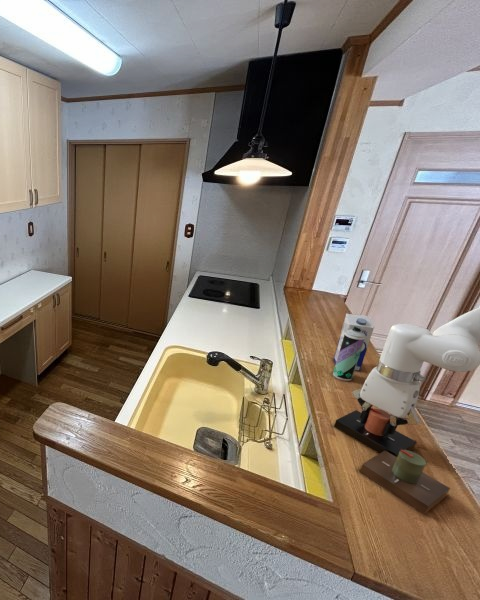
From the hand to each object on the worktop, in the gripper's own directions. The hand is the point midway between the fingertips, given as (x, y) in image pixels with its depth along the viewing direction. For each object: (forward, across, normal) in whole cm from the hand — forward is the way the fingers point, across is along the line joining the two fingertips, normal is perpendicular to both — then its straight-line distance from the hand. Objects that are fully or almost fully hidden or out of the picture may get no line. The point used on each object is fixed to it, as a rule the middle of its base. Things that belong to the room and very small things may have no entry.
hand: (375, 427), depth 89 cm
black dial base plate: (+3, 0, 0) cm, 3 cm away
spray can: (+4, +21, -25) cm, 33 cm away
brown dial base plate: (+3, -11, +11) cm, 16 cm away
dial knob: (+1, 0, 0) cm, 1 cm away
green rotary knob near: (+1, -11, +11) cm, 16 cm away
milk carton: (+4, +25, -35) cm, 43 cm away
